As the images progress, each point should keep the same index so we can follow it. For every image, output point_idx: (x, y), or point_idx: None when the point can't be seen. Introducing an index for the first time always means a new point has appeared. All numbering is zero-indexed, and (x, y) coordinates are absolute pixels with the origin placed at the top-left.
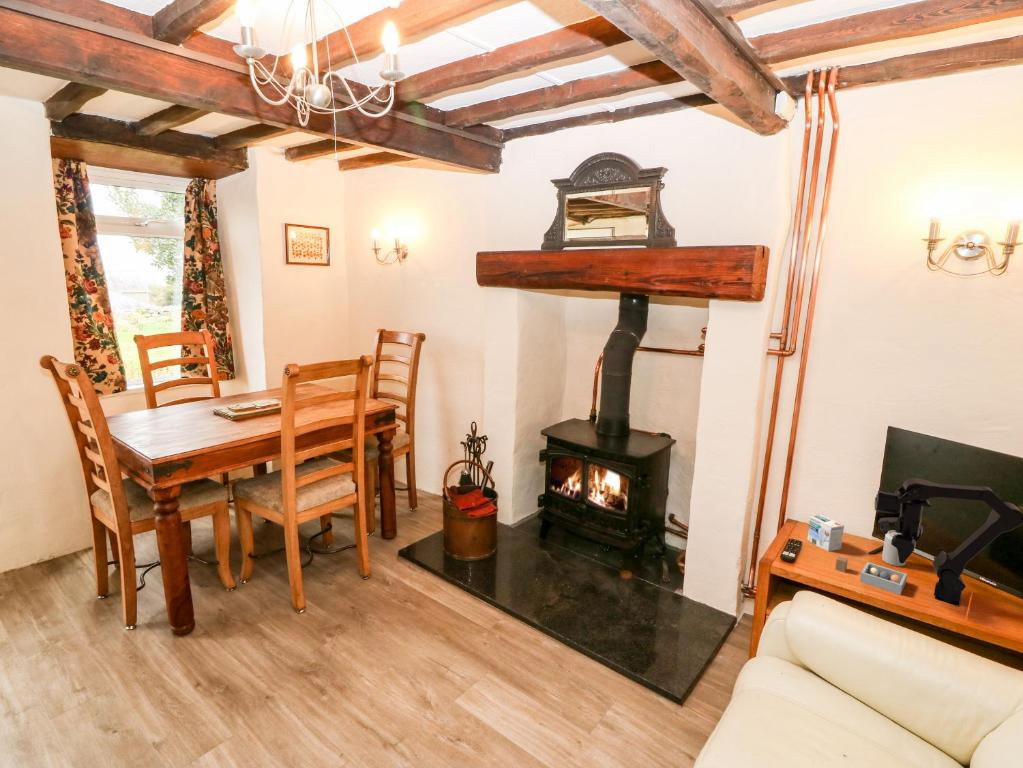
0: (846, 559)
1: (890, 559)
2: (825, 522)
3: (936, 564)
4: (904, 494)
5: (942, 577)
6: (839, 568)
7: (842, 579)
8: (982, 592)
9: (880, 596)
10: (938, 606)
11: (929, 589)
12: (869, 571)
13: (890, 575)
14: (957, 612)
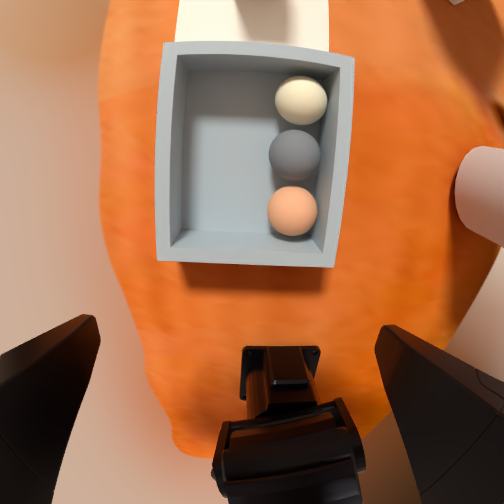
0: None
1: (471, 178)
2: None
3: (287, 465)
4: None
5: (216, 451)
6: None
7: (162, 3)
8: (384, 411)
9: (107, 168)
10: (200, 355)
11: (327, 323)
12: (288, 78)
13: (320, 182)
14: (205, 393)
